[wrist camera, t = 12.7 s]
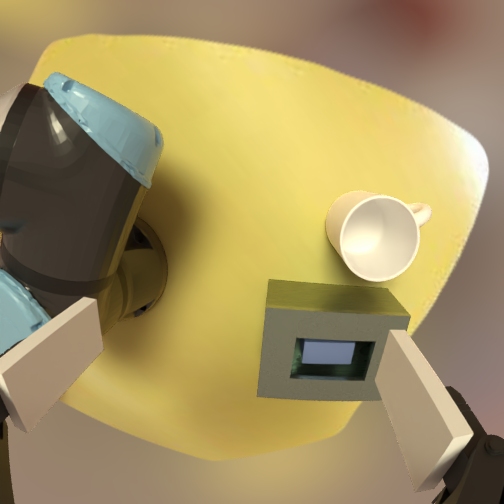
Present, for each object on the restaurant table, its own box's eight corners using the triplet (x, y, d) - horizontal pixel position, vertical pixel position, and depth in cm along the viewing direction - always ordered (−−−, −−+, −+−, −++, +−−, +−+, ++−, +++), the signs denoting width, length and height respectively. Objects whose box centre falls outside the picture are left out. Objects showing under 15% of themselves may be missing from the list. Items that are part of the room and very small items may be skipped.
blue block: (299, 338, 41) (301, 363, 35) (301, 319, 40) (304, 341, 34) (342, 340, 40) (350, 364, 35) (345, 320, 40) (355, 343, 34)
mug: (401, 173, 35) (439, 174, 25) (417, 233, 37) (456, 252, 27) (315, 202, 37) (328, 212, 27) (335, 264, 39) (353, 293, 29)
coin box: (261, 357, 43) (256, 396, 34) (268, 279, 40) (265, 307, 31) (368, 363, 42) (383, 400, 33) (386, 288, 39) (410, 315, 30)
